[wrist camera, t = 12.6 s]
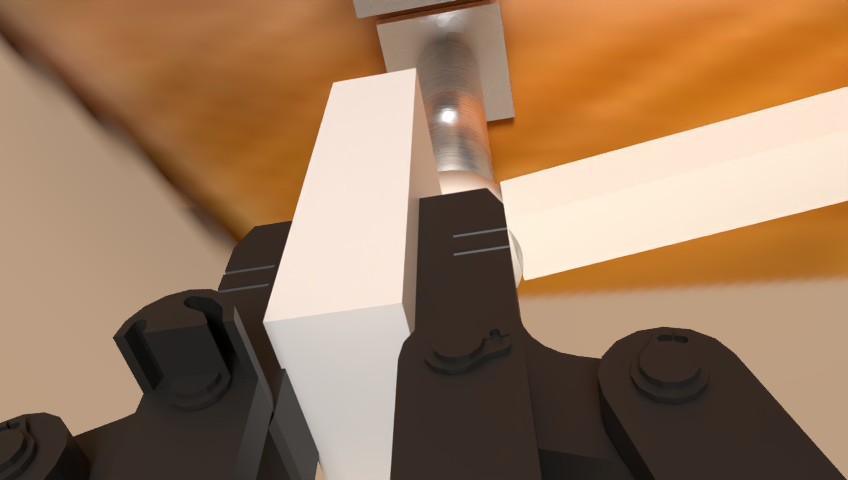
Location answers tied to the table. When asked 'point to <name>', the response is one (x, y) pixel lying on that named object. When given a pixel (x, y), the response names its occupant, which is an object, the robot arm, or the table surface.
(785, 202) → the swing arm
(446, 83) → the post
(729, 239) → the table surface
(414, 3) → the grey tin
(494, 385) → the robot arm
